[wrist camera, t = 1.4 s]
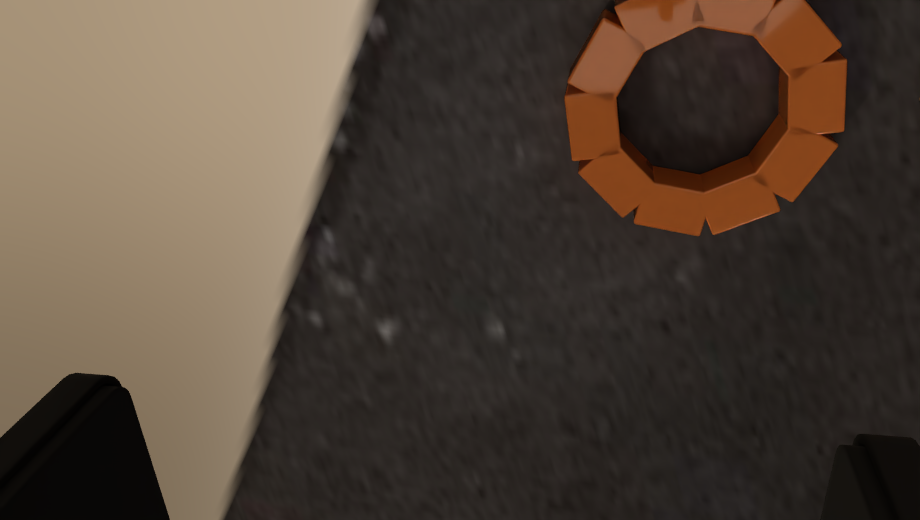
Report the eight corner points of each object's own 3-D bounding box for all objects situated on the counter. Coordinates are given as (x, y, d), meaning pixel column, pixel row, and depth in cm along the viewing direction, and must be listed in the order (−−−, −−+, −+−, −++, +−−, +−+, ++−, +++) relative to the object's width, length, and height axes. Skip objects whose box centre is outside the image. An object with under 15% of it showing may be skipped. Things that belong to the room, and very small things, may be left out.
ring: (525, 148, 30) (520, 164, 28) (658, -90, 25) (660, -86, 24) (728, 254, 30) (734, 276, 29) (895, 41, 26) (913, 54, 24)
